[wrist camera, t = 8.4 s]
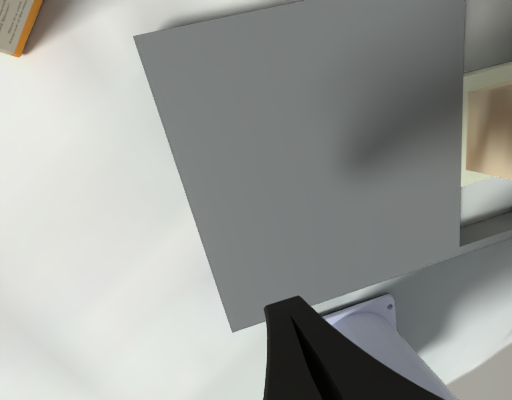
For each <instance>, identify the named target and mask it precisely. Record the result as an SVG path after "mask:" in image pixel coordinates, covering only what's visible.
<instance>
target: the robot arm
mask: <svg viewBox="0 0 512 400" xmlns="http://www.w3.org/2000/svg"><path fill="white" fill-rule="evenodd" d="M264 313H265V317H266V325H267V366H266V378H265V389H264V398H263V400H458V399H457V397H456V396H455V395H454V394H453V393H452V392H451V391H450V390H449V388H448V387H447V386H446V385H445V384H444V383H443V382H442V381H441V380H440V378H439V377H438V376H437V375H436V374H435V373H434V372H433V371H432V370H431V368H430V367H429V366H428V365H427V364H426V363H425V362H424V361H423V360H422V359H421V357H420V356H419V355H418V354H417V353H416V352H415V351H414V350H413V349H412V347H411V346H410V345H409V344H408V343H407V342H406V341H405V340H404V339H403V337H402V336H401V335H400V334H399V333H398V332H397V326H396V312H395V299H394V298H393V297H392V296H391V295H390V294H387V295H384V296H381V297H378V298H375V299H372V300H369V301H366V302H363V303H361V304H358V305H355V306H352V307H349V308H346V309H343V310H340V311H337V312H334V313H332V314H329V315H326V316H323V317H322V316H320V315H319V314H318V313H317V312H316V311H315V310H314V309H313V308H312V307H311V306H310V305H309V304H308V303H307V302H306V301H305V300H304V299H303V298H302V297H300V296H299V295H298V296H294V297H291V298H288V299H285V300H282V301H278V302H275V303H272V304H269V305H266V306H265V307H264Z"/></svg>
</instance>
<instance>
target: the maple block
mask: <svg viewBox="0 0 512 400" xmlns="http://www.w3.org/2000/svg"><path fill="white" fill-rule="evenodd" d="M466 170H468V171H473V172H478V173H482V174H487V175H491V176H496V177H500V178H505V179H509V180H512V80H509V81H505V82H501V83H497V84H494V85H490V86H486V87H482V88H479V89H475V90H471V91H468V104H467V140H466Z"/></svg>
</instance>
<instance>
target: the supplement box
mask: <svg viewBox="0 0 512 400" xmlns="http://www.w3.org/2000/svg"><path fill="white" fill-rule="evenodd" d="M42 2H43V0H0V52H2V53H5V54H9V55H12V56H15V57H20V56H21V55H22V52H23V49H24V47H25V43H26V41H27V39H28V36H29V34H30V33H31V30H32V27H33V25H34V22H35V20H36V17H37V15H38V13H39V9H40V7H41V5H42Z"/></svg>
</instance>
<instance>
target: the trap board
mask: <svg viewBox="0 0 512 400" xmlns="http://www.w3.org/2000/svg"><path fill="white" fill-rule="evenodd" d="M464 31H465V0H303V1H299V2H294V3H289V4H284V5H280V6H275V7H270V8H265V9H261V10H256V11H251V12H246V13H241V14H237V15H232V16H227V17H222V18H218V19H213V20H208V21H203V22H199V23H194V24H189V25H184V26H179V27H175V28H170V29H165V30H160V31H156V32H151V33H146V34H141V35H137V36H133V38H134V41H135V44H136V47H137V50H138V53H139V56H140V59H141V62H142V65H143V68H144V71H145V73H146V76H147V79H148V82H149V85H150V88H151V91H152V94H153V97H154V100H155V103H156V106H157V109H158V112H159V115H160V118H161V121H162V124H163V127H164V130H165V133H166V136H167V139H168V142H169V145H170V148H171V151H172V154H173V157H174V160H175V163H176V166H177V169H178V172H179V175H180V178H181V181H182V184H183V187H184V190H185V193H186V196H187V199H188V202H189V205H190V208H191V211H192V214H193V217H194V220H195V223H196V226H197V229H198V232H199V235H200V238H201V241H202V244H203V247H204V250H205V253H206V256H207V259H208V262H209V265H210V268H211V271H212V274H213V277H214V280H215V283H216V286H217V289H218V292H219V295H220V298H221V301H222V304H223V306H224V309H225V312H226V315H227V318H228V321H229V324H230V327H231V330H232V333H233V332H236V331H238V330H241V329H244V328H247V327H250V326H253V325H256V324H259V323H262V322H265V321H266V317H265V313H264V307H265V306H266V305H269V304H272V303H275V302H278V301H282V300H285V299H288V298H291V297H294V296H298V295H299V296H300V297H302V298H303V299H304V300H305V301H306V302H307V303H308V304H309V305H310V306H312V305H315V304H318V303H321V302H324V301H327V300H330V299H333V298H336V297H339V296H342V295H345V294H348V293H351V292H354V291H357V290H360V289H362V288H365V287H368V286H371V285H374V284H377V283H380V282H383V281H386V280H389V279H392V278H395V277H398V276H401V275H404V274H407V273H410V272H413V271H416V270H419V269H422V268H424V267H427V266H430V265H433V264H436V263H439V262H442V261H445V260H448V259H451V258H454V257H457V256H460V255H463V254H466V253H469V252H472V251H475V250H478V249H481V248H484V247H486V246H489V245H492V244H495V243H498V242H501V241H504V240H507V239H510V238H512V212H509V213H506V214H503V215H500V216H497V217H494V218H490V219H487V220H484V221H481V222H478V223H475V224H472V225H469V226H466V227H463V228H460V201H461V187H462V186H465V185H469V184H472V183H475V182H478V181H482V180H485V179H488V178H491V177H495V176H491V175H487V174H482V173H478V172H473V171H468V170H466V140H467V104H468V91H471V90H475V89H479V88H482V87H486V86H490V85H494V84H497V83H501V82H505V81H509V80H512V61H511V62H507V63H503V64H499V65H495V66H491V67H488V68H484V69H480V70H476V71H472V72H468V73H464Z"/></svg>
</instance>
